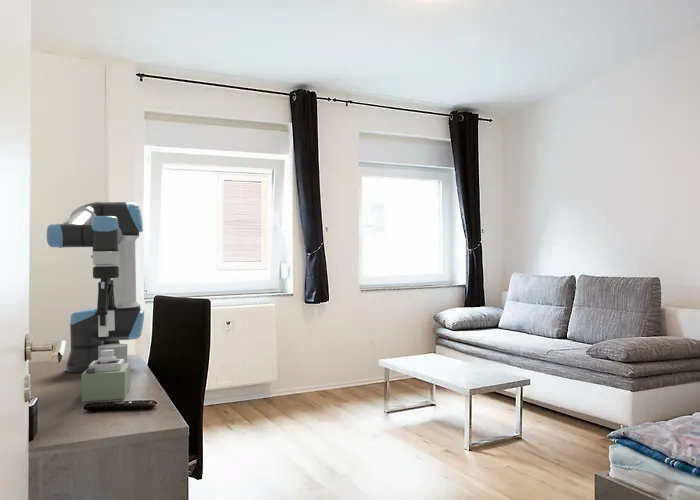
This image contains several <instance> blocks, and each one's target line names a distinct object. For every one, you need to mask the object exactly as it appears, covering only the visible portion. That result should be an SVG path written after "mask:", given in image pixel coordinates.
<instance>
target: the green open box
mask: <svg viewBox="0 0 700 500" xmlns="http://www.w3.org/2000/svg"><path fill="white" fill-rule="evenodd" d="M80 374H81V375H80V376H81V381H80V383H81V385H80V386H81V389H80V390H81V402H83V403H84V402H94V401H95V402H96V401H97V402H98V401H108V400H109V401H110V400H122V399H123V400H124V399H126V397H127V396H128V394H129V391H130V389H131V387H132V386H131V383H132V382H131V381H132V380H131V362H128V363H124V359H116V363H113V364H98V360H96V361H93V362H92V363H91V364H90V365H89V368H88V369H86V370H85V371H84V372H82V373H80Z"/></svg>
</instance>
